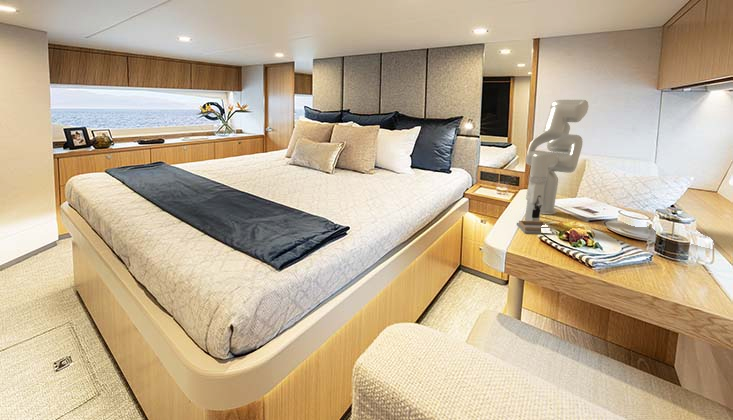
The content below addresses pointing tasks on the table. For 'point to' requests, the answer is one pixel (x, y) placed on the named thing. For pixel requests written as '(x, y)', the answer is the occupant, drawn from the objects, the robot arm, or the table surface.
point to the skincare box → (530, 212)
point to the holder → (531, 226)
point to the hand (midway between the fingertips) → (532, 215)
